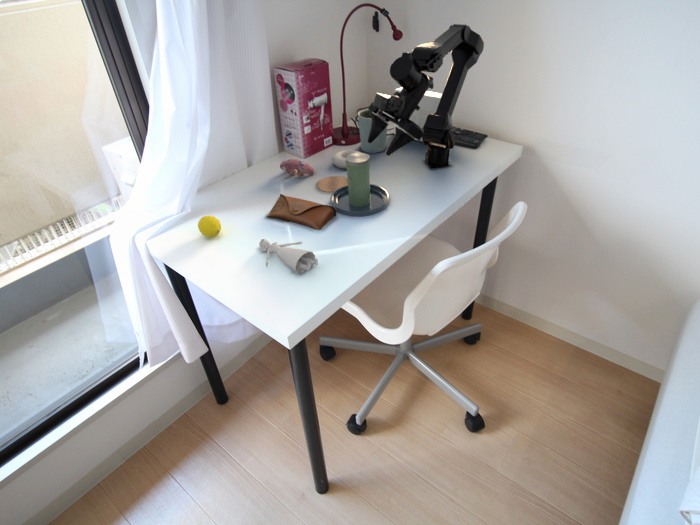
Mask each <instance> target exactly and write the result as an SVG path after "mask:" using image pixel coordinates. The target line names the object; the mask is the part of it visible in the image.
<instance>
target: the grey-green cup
mask: <svg viewBox="0 0 700 525" xmlns="http://www.w3.org/2000/svg"><path fill="white" fill-rule="evenodd" d="M370 112H371V113H372V111H370V110H369V109H368V108H366V109H361V110H360V111H358V113H357V120H358V129H359V140H360V149H361V151H363V153H369V154H374V153H380V152H383V151H384V150H386V146H387V135H388V126H387V127H386V128H385V129H384V130H383V131H382V132H381V133H380V134H379V135H378V137H377V138H376V139H375V140H374V141H373V142H372V143H369V142H368V137H369V133H370V129H371V125H372V118H371V115H370ZM384 122H386V121H384ZM386 123H387V124H389V122H386Z"/></svg>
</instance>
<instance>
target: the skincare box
mask: <svg viewBox="0 0 700 525" xmlns="http://www.w3.org/2000/svg"><path fill="white" fill-rule="evenodd" d="M401 90H402V87H401V86H400V87H398V88H396V89H394V93H395V92H396V91H397V92H399V93H400V91H401ZM441 96H442V93H440V92H434V91H430V90H427V91H426V93H425V95H424V96H423V98H422V99H421V101H420V102H419V104H418V106H419V107H420V109H419V110H418V111H417V110H414V112H413V114H412V115H411V117H410V118H409V120H411V121H413V122H414V123H416V124H417V125H418V126H419V127H421V128H422V129H423V126H424V124H425V122H426V119H427V116H428V115H429V114H433V113H434V112H436V110H437V107H438V104H439V102H440V99H441ZM398 121H400V119H399V120H398ZM396 127H397V128H399V129H401V128H400V127H399V126H398V125H397V124H395V123H393V135H395V134H396ZM414 139H415V140H416V141H419V140H417V139H416V138H414ZM419 142H422V143H423V140H422V138H421V139H420V141H419Z"/></svg>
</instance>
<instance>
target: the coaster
mask: <svg viewBox="0 0 700 525" xmlns="http://www.w3.org/2000/svg"><path fill="white" fill-rule="evenodd" d="M346 185H348V180H347V177H344V176H338V175H336V176H335V175H332V176H328V177H324V178H323V179H320V180H319V181H318V182H317V184H316V187H317V189H318V190H320V191H322V192H324V193H325V192H326V193H333V192H334V191H335V190H337V189H339V188H341V187H343V186H346Z"/></svg>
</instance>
